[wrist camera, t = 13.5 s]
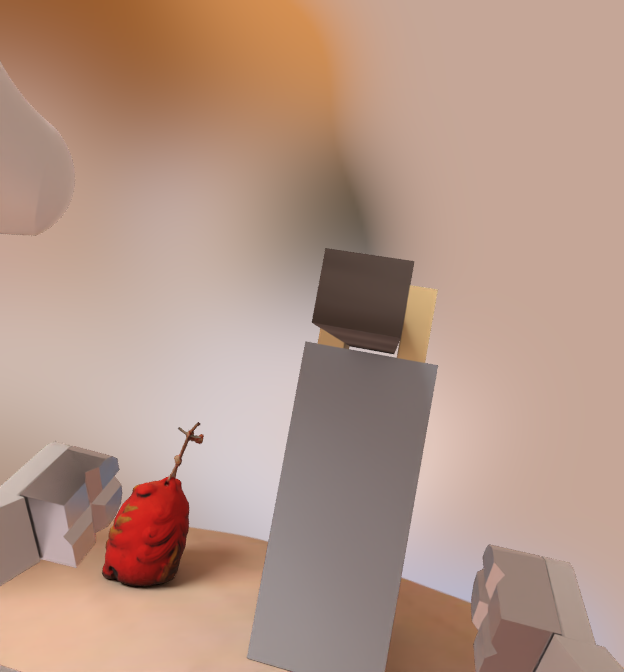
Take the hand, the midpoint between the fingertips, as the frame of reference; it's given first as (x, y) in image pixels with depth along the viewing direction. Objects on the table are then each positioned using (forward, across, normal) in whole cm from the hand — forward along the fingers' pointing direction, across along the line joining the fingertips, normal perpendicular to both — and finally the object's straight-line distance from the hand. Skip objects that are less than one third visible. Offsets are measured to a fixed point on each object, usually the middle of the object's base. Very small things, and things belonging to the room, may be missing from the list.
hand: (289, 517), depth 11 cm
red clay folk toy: (+20, +18, +34) cm, 43 cm away
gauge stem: (+18, 0, +5) cm, 19 cm away
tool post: (+18, 0, +33) cm, 38 cm away
